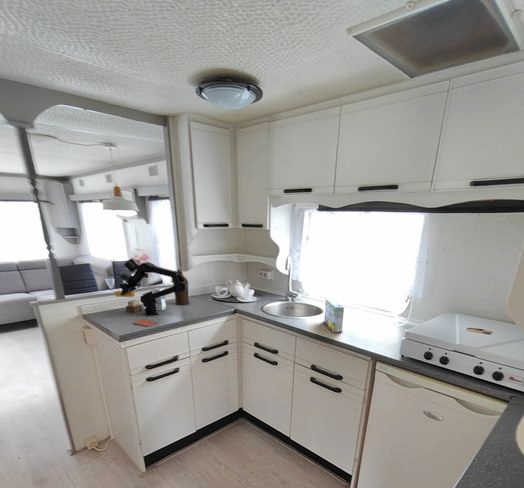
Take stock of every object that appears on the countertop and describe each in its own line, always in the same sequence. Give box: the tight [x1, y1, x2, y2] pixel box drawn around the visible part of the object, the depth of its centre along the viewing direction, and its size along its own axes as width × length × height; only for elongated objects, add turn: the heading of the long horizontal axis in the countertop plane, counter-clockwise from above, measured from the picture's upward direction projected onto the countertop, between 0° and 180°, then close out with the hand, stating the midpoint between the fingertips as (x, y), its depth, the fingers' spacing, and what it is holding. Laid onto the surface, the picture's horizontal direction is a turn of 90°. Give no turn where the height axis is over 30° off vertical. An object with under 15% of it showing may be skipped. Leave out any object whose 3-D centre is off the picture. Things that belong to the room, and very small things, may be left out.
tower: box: [125, 299, 143, 314], centre depth 220 cm, size 7×7×7 cm
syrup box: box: [152, 287, 167, 311], centre depth 224 cm, size 6×6×14 cm
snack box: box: [323, 298, 345, 333], centre depth 193 cm, size 21×6×15 cm, turn 5°
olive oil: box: [172, 268, 190, 306], centre depth 238 cm, size 11×11×25 cm
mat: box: [133, 319, 157, 327], centre depth 197 cm, size 11×8×1 cm
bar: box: [114, 290, 136, 298], centre depth 212 cm, size 11×4×3 cm, turn 85°
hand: (123, 294), depth 212 cm, fingers closed on bar, 4 cm apart
